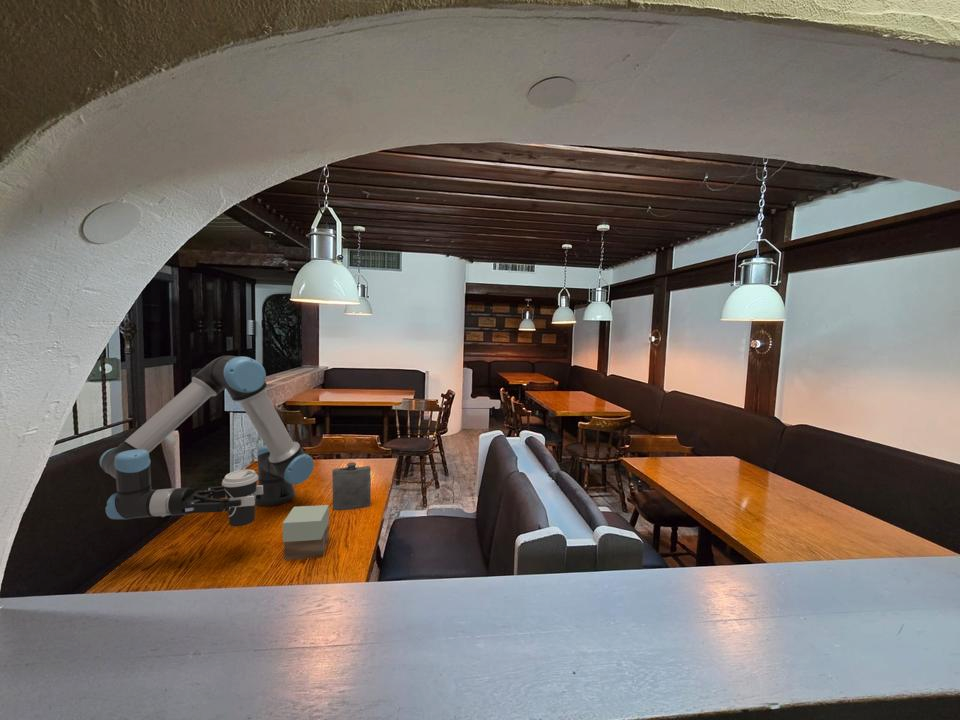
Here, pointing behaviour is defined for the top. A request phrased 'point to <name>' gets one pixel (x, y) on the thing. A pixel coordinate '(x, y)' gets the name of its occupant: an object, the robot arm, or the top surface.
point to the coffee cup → (240, 495)
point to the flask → (351, 487)
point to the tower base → (306, 548)
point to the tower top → (306, 523)
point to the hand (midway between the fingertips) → (258, 495)
